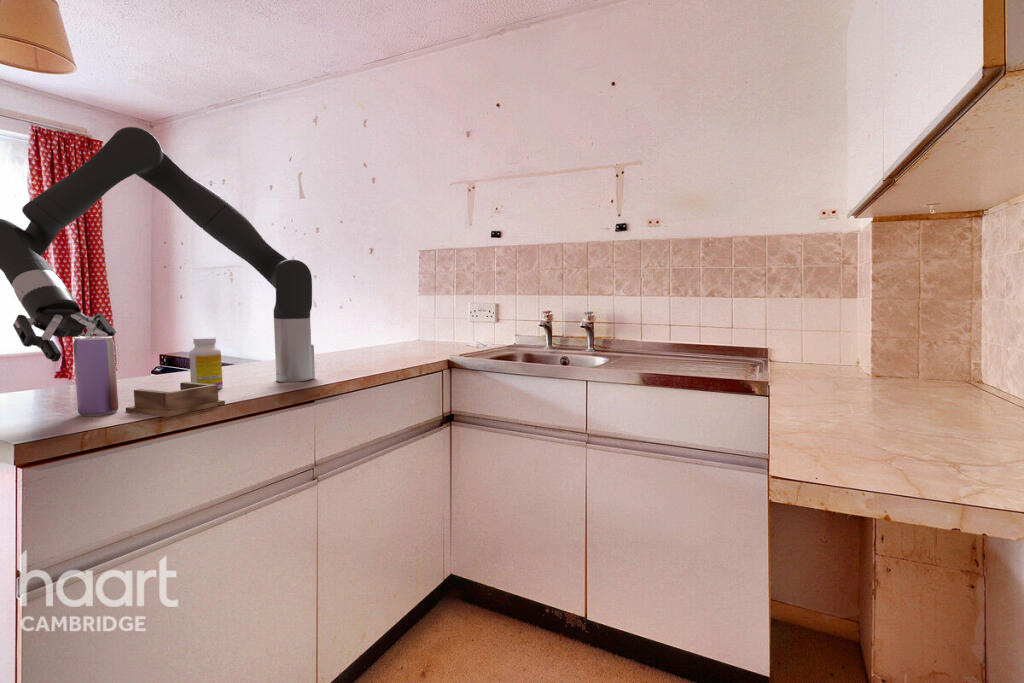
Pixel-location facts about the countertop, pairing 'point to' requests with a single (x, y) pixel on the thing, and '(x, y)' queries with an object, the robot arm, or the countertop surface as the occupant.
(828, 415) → the countertop surface
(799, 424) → the countertop surface
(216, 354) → the supplement bottle
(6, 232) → the robot arm
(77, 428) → the countertop surface
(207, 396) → the cradle
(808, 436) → the countertop surface
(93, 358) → the lavender tall block
